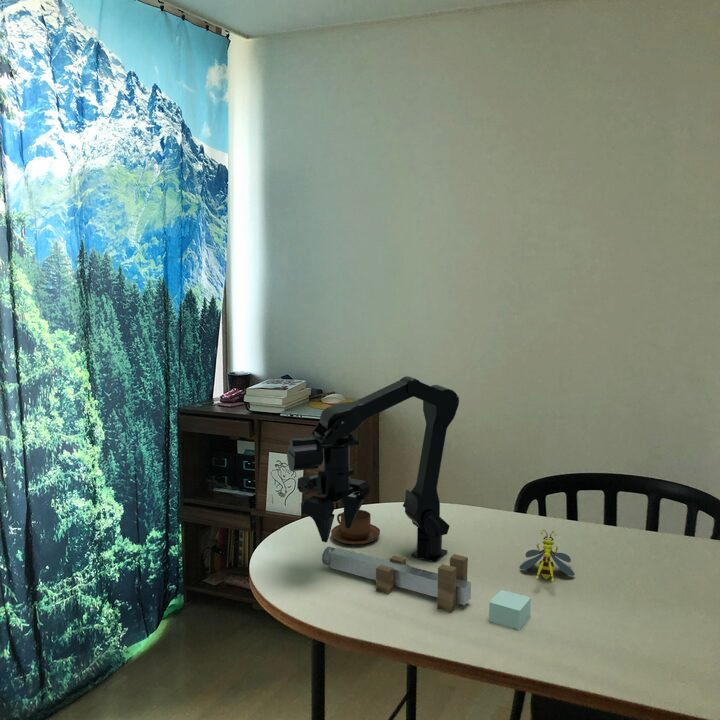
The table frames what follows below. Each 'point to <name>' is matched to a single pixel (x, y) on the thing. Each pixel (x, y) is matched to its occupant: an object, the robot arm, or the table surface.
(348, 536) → the cup and saucer
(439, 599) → the bearing
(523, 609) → the block
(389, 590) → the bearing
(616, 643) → the table surface
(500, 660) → the table surface
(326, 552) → the shaft
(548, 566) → the toy
